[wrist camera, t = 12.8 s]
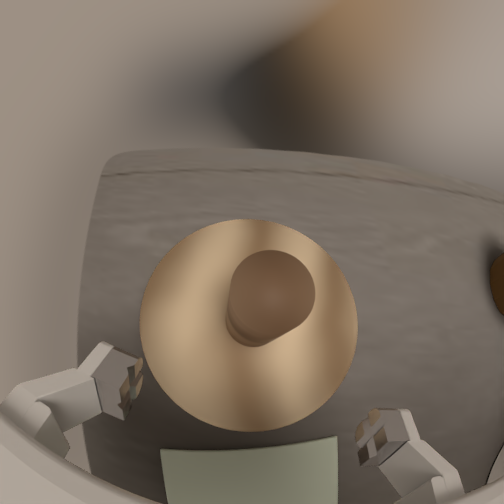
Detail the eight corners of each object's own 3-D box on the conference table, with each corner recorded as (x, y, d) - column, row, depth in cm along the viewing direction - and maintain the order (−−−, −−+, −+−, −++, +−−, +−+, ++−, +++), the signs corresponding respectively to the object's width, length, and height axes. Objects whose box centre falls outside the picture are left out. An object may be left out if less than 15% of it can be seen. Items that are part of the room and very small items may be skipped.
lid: (334, 228, 23) (378, 165, 15) (358, 410, 17) (431, 421, 9) (151, 227, 21) (124, 156, 13) (147, 427, 15) (102, 460, 7)
